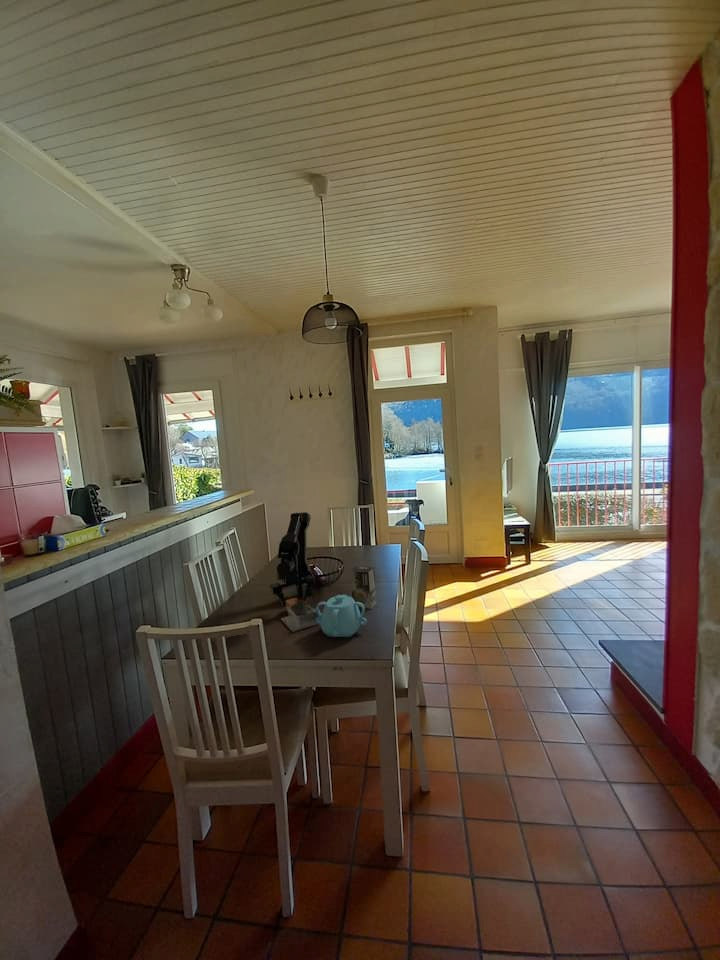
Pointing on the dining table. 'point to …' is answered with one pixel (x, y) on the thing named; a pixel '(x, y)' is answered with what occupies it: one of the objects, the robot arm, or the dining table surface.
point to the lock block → (294, 606)
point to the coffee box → (363, 586)
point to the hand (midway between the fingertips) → (294, 604)
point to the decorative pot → (340, 616)
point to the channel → (301, 619)
